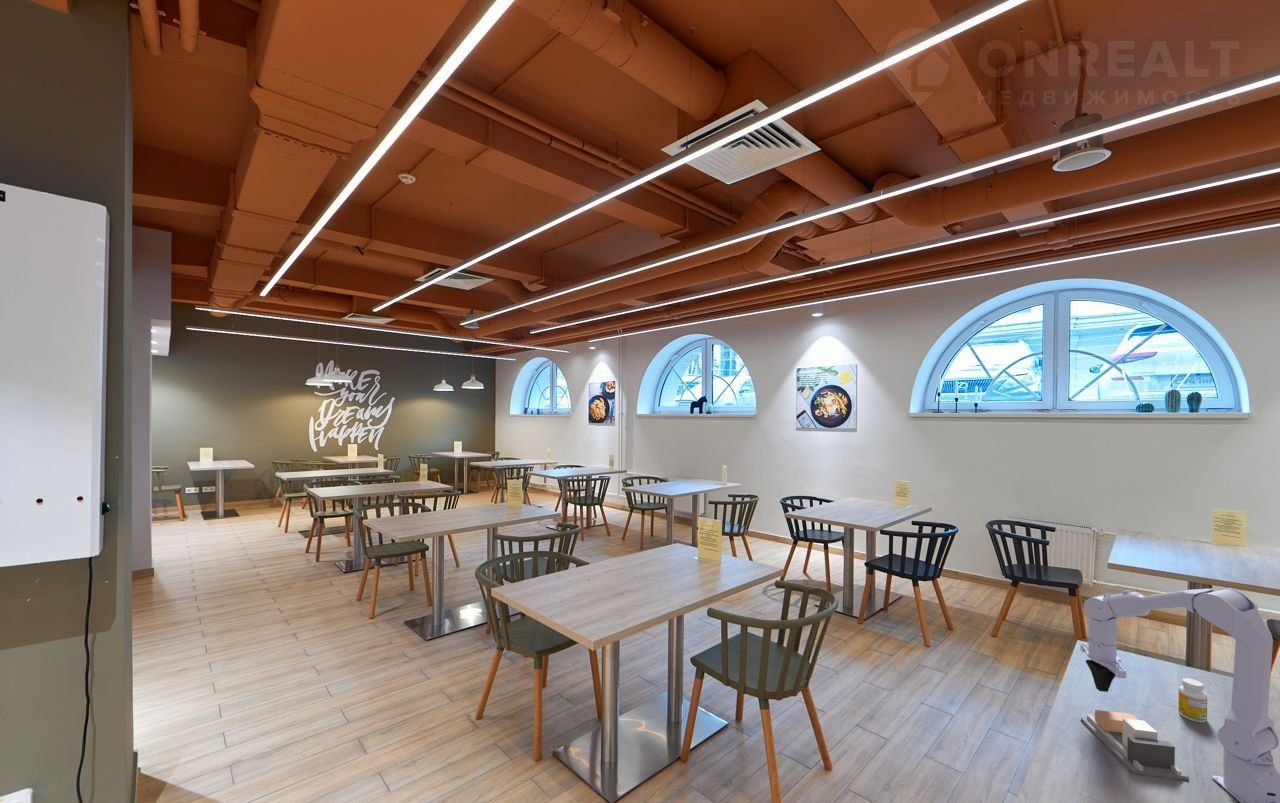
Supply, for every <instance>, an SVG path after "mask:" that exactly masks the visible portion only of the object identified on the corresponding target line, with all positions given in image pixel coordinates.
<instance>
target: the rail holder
mask: <svg viewBox="0 0 1280 803" xmlns="http://www.w3.org/2000/svg"><path fill="white" fill-rule="evenodd" d="M1080 721H1081V723H1083V724H1084V725H1085V726H1086V727H1087V728H1088V729H1089V730H1090V731H1091V732H1092V733H1093V734H1094V736H1095V737H1097V739H1099V741H1100V742H1101V743H1102V744H1103V745H1104V746H1105V747H1106V748H1107V749H1108V750H1109V752H1111V753H1112V754H1113V755H1114V756H1115V757H1116V758H1117V759H1118V760H1119V761H1120V762H1121V764H1123V766H1124V767H1126V768H1127V769H1128V770H1129V771H1130V773H1132V774H1137V775H1144V776H1145V775H1146V776H1153V777H1161V778H1170V779H1177V780H1178V779H1179V780H1183V781H1184V780H1185V781H1190V779H1189V778H1190V776H1189V775H1187V773H1185V772H1184V771H1183V770H1182V769H1181V768H1180V767H1179V766H1177V765H1176V759H1175V758H1176V756H1175V755H1176V748H1175V746H1174V745H1173V744H1172V743H1171V742H1170V741H1167V740H1159V739H1157V740H1152V739H1143V738H1134V737H1128V740H1127V750H1126V749H1125V748H1124V747H1123V746H1122V745H1123V733H1121V732H1113V731H1105V730H1104V729H1103V728H1102V727H1101V726H1100V725H1099V724H1098V723H1097V722H1096V721H1095V717H1093V716H1092V715H1091V714H1086V717H1080Z"/></svg>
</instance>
